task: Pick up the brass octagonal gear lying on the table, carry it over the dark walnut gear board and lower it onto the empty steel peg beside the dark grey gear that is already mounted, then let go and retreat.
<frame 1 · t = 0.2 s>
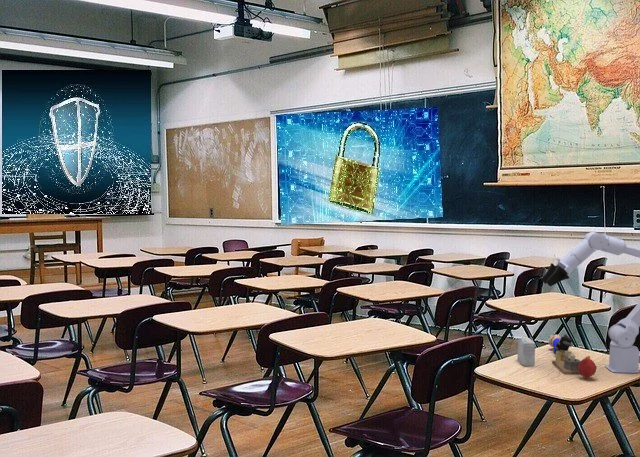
hand: (545, 283, 264), 31 cm above the table, tool tilted 45°, fingers open, 7 cm apart
onion: (586, 379, 255), on the table
gear board: (572, 368, 266), on the table
medicine box: (525, 363, 272), on the table
character figurine: (559, 354, 287), on the table
brass gear: (562, 361, 276), on the table
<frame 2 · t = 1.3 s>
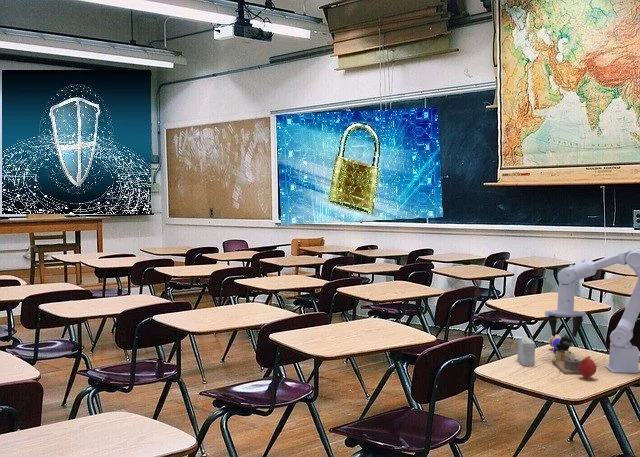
hand: (563, 336, 276), 9 cm above the table, tool pointing down, fingers open, 7 cm apart
nothing on the table moved.
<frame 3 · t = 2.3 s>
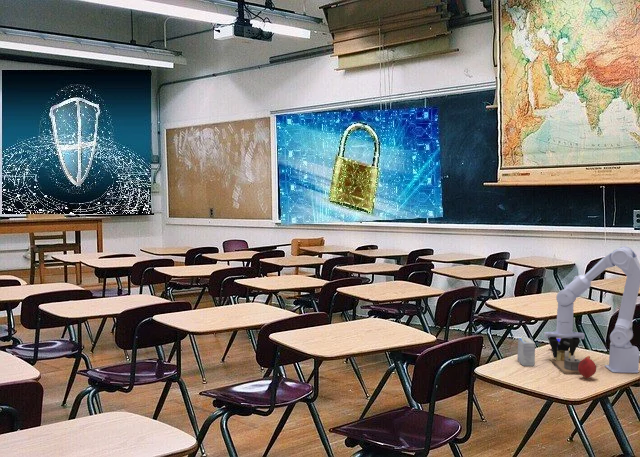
hand: (562, 357, 276), 1 cm above the table, tool pointing down, fingers closed on brass gear, 5 cm apart
brass gear: (562, 361, 276), on the table, touching gripper
everything else where it was.
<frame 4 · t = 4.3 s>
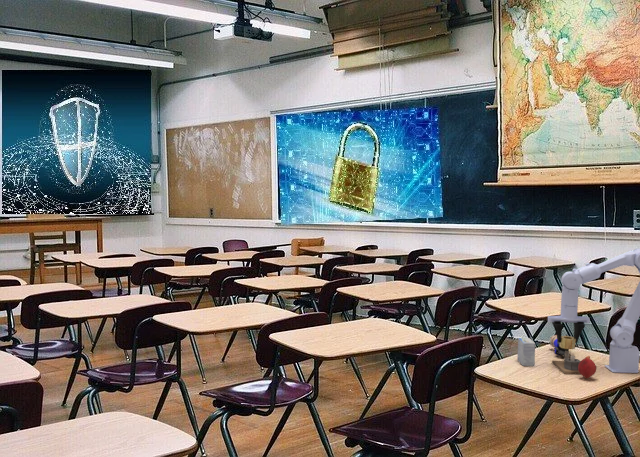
hand: (567, 342, 269), 9 cm above the table, tool pointing down, fingers closed on brass gear, 5 cm apart
brass gear: (567, 347, 269), point 7 cm above the table, touching gripper
everything else where it was.
when the fingers open (5 cm above the table, at t = 5.9 s): brass gear drops 2 cm, resting on gear board.
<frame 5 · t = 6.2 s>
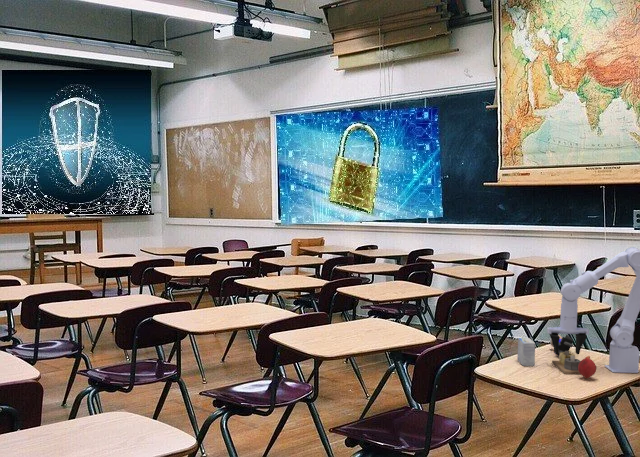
hand: (566, 353, 269), 5 cm above the table, tool pointing down, fingers open, 7 cm apart
brass gear: (566, 363, 269), point 1 cm above the table, touching gear board
everything else where it was.
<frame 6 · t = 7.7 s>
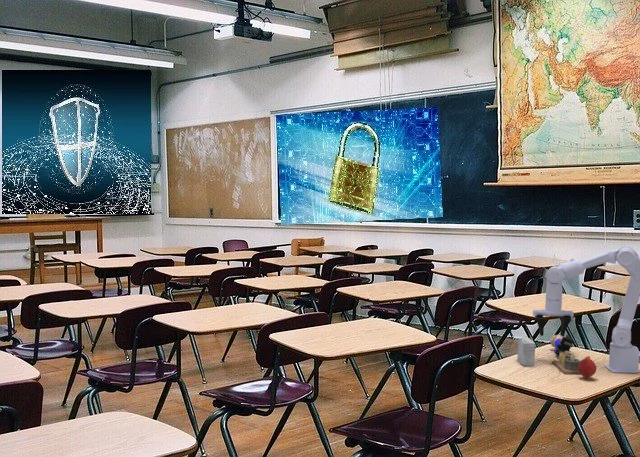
hand: (551, 335, 274), 10 cm above the table, tool pointing down, fingers open, 7 cm apart
nothing on the table moved.
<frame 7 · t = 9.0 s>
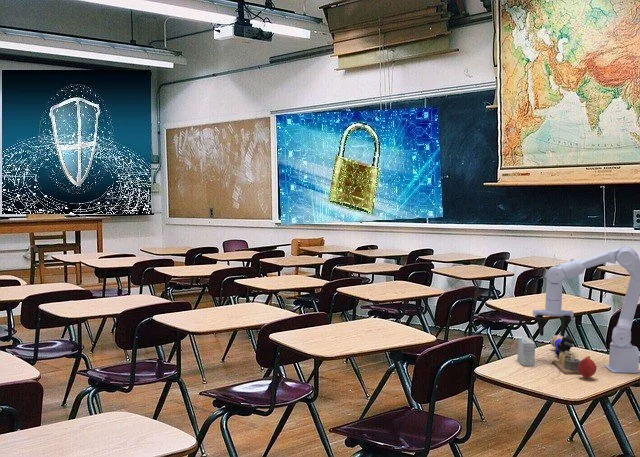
hand: (551, 335, 274), 10 cm above the table, tool pointing down, fingers open, 7 cm apart
nothing on the table moved.
at the end: brass gear 0.2 cm from the target spot on the gear board, point 1.0 cm above the gear board's base; the gripper is holding nothing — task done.
